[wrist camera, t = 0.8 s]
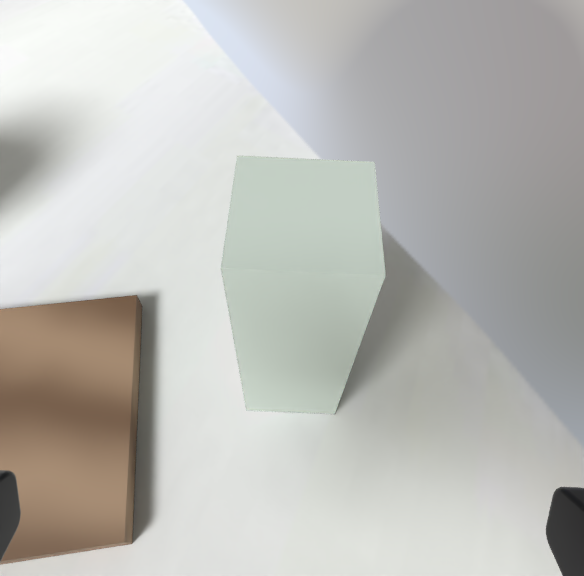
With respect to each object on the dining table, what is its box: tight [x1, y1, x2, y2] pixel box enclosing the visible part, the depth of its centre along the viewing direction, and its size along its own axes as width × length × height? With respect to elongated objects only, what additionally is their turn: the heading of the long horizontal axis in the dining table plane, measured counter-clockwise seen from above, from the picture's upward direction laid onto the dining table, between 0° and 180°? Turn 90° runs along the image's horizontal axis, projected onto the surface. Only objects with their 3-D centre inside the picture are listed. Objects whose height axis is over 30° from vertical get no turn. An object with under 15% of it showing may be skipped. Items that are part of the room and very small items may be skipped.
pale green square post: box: [221, 156, 386, 414], centre depth 19 cm, size 4×4×12 cm
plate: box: [0, 295, 142, 565], centre depth 21 cm, size 12×12×1 cm
